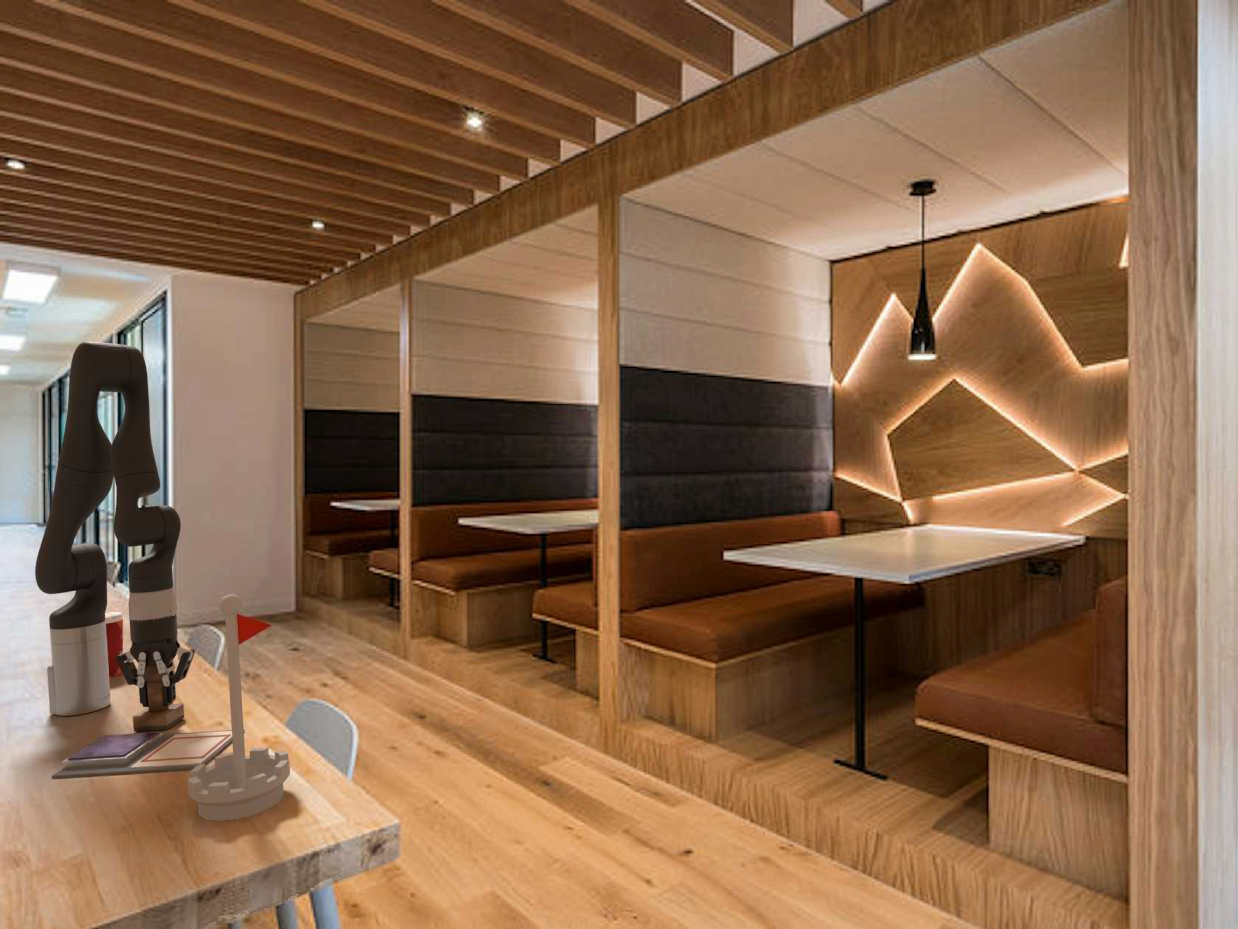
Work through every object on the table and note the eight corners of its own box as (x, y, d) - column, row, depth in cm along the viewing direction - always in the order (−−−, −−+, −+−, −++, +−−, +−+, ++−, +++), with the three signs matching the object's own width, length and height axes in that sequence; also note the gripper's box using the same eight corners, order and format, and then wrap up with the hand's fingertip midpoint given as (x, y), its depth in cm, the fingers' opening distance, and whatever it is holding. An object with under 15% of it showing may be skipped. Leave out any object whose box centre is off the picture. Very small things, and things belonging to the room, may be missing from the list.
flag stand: (184, 834, 102) (170, 608, 101) (195, 794, 114) (182, 592, 113) (291, 811, 107) (279, 596, 106) (290, 775, 119) (280, 582, 118)
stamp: (133, 731, 141) (129, 666, 140) (152, 719, 147) (148, 657, 146) (167, 729, 141) (163, 664, 141) (184, 718, 147) (180, 655, 147)
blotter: (51, 778, 122) (51, 774, 122) (113, 739, 138) (112, 735, 137) (200, 769, 123) (200, 764, 123) (244, 731, 139) (244, 727, 139)
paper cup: (135, 670, 182) (132, 612, 182) (104, 680, 175) (100, 619, 175) (111, 668, 185) (107, 611, 185) (80, 678, 178) (76, 618, 177)
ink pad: (62, 769, 124) (61, 760, 124) (104, 742, 135) (103, 734, 135) (125, 765, 125) (125, 756, 124) (162, 739, 135) (162, 730, 135)
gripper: (101, 620, 139) (107, 714, 140) (181, 616, 140) (186, 710, 140) (126, 611, 147) (131, 700, 147) (201, 607, 147) (206, 696, 148)
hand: (158, 705), depth 144 cm, fingers closed on stamp, 3 cm apart
